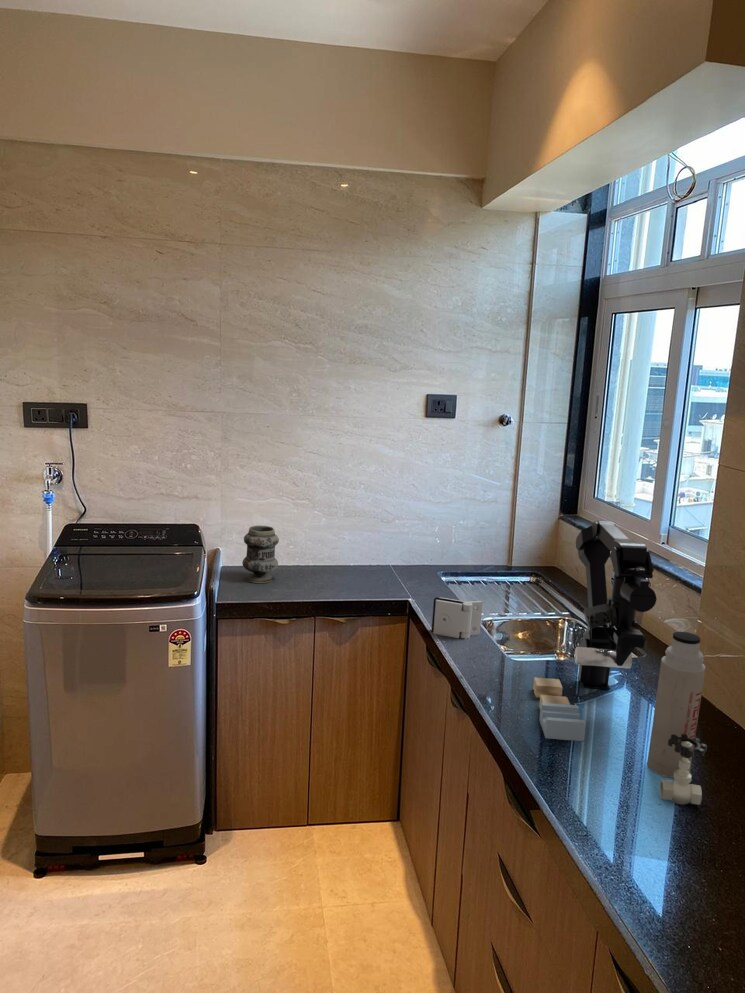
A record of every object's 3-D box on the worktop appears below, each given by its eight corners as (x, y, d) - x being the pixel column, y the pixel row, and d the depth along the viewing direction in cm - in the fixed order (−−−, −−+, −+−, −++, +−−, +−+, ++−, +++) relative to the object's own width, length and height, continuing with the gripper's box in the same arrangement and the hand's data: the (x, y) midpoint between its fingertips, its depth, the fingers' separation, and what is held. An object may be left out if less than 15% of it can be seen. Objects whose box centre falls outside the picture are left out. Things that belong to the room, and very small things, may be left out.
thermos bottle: (698, 773, 147) (719, 640, 142) (670, 782, 143) (690, 645, 138) (666, 754, 154) (684, 625, 149) (638, 761, 150) (656, 630, 145)
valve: (701, 816, 133) (711, 754, 131) (663, 809, 134) (671, 748, 132) (693, 795, 140) (702, 736, 137) (656, 789, 141) (665, 731, 139)
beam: (557, 690, 181) (559, 679, 180) (569, 718, 167) (570, 705, 167) (532, 688, 181) (534, 677, 181) (542, 716, 167) (543, 703, 167)
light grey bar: (625, 663, 173) (628, 647, 173) (630, 671, 170) (632, 655, 169) (573, 660, 174) (575, 644, 173) (577, 667, 170) (579, 651, 169)
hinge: (479, 634, 216) (482, 601, 214) (479, 641, 210) (483, 607, 209) (431, 629, 217) (434, 596, 215) (430, 635, 212) (433, 602, 210)
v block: (575, 722, 165) (577, 705, 164) (583, 741, 157) (585, 722, 156) (539, 720, 166) (541, 702, 165) (545, 738, 158) (547, 719, 157)
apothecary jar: (274, 585, 249) (276, 533, 245) (238, 583, 249) (240, 531, 245) (279, 575, 261) (281, 525, 257) (245, 573, 261) (246, 523, 257)
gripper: (579, 582, 178) (573, 643, 181) (598, 608, 160) (590, 676, 163) (627, 585, 177) (619, 647, 180) (651, 611, 159) (642, 680, 162)
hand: (616, 661), depth 171 cm, fingers closed on light grey bar, 4 cm apart
